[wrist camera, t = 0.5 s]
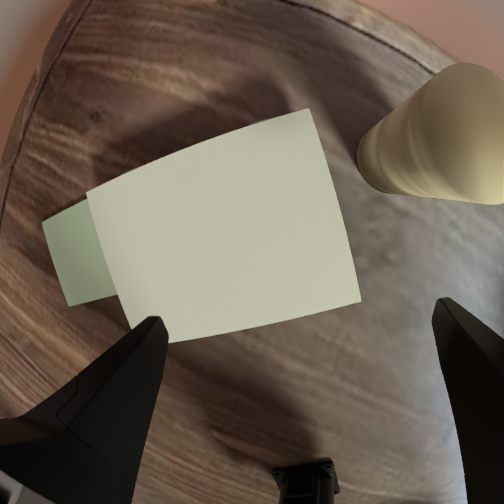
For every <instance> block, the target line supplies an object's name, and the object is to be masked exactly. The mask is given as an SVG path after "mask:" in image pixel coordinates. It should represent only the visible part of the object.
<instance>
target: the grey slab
mask: <svg viewBox="0 0 504 504" xmlns="http://www.w3.org/2000/svg"><path fill="white" fill-rule="evenodd" d="M86 195H87V199H88V203H89V207H90V211H91V214H92V218H93V221H94V225H95V228H96V231H97V235H98V238H99V241H100V244H101V248H102V251H103V254H104V257H105V260H106V263H107V266H108V269H109V272H110V275H111V277H112V280H113V283H114V286H115V288H116V291H117V294H118V296H119V299H120V302H121V304H122V307H123V309H124V312H125V314H126V317H127V319H128V322H129V324H130V327H131V329H133V328H134V327H135V326H137V325H138V324H139V323H140V322H142V321H143V320H144V319H145V318H146V317H148V316H160V317H161V318H162V320H163V322H164V324H165V326H166V329H167V331H168V334H169V341H168V343H173V342H179V341H185V340H191V339H196V338H202V337H207V336H213V335H218V334H223V333H228V332H233V331H238V330H243V329H248V328H253V327H258V326H262V325H267V324H272V323H276V322H281V321H285V320H289V319H294V318H298V317H302V316H306V315H310V314H314V313H318V312H322V311H326V310H330V309H334V308H338V307H342V306H346V305H349V304H353V303H357V302H360V301H361V296H360V292H359V287H358V282H357V277H356V273H355V268H354V264H353V259H352V255H351V251H350V246H349V242H348V238H347V234H346V230H345V226H344V222H343V218H342V215H341V211H340V207H339V203H338V200H337V196H336V192H335V189H334V185H333V182H332V179H331V175H330V172H329V168H328V165H327V162H326V159H325V155H324V152H323V149H322V146H321V143H320V140H319V136H318V133H317V130H316V127H315V124H314V121H313V119H312V116H311V113H310V110H309V108H308V109H304V110H301V111H297V112H293V113H290V114H286V115H283V116H279V117H275V118H267V119H263V120H260V121H257V122H255V123H252V124H250V125H249V126H247V127H243V128H240V129H237V130H234V131H231V132H229V133H226V134H223V135H220V136H217V137H214V138H211V139H209V140H206V141H203V142H201V143H198V144H195V145H193V146H190V147H187V148H185V149H182V150H180V151H177V152H175V153H172V154H170V155H167V156H165V157H162V158H160V159H158V160H155V161H153V162H150V163H148V164H146V165H143V166H141V167H137V168H134V169H131V170H129V171H126V172H124V173H123V174H121V176H119V177H117V178H115V179H113V180H110V181H108V182H106V183H104V184H102V185H100V186H98V187H96V188H94V189H92V190H90V191H88V192H86Z"/></svg>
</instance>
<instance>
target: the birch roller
mask: <svg viewBox="0 0 504 504" xmlns="http://www.w3.org/2000/svg"><path fill="white" fill-rule="evenodd" d="M356 159H357V165H358V169H359V171H360V173H361V175H362V177H363V178H364V180H365V181H366V182H367V183H368V184H369V185H370V186H371V187H373V188H374V189H376V190H378V191H380V192H384V193H390V194H401V195H412V196H422V197H432V198H441V199H450V200H458V201H466V202H474V203H481V204H488V205H497V204H502V203H504V80H503V79H501V78H500V77H499V76H498V75H496V74H495V73H493V72H492V71H490V70H488V69H486V68H484V67H482V66H479V65H476V64H471V63H458V64H454V65H451V66H448V67H447V68H445V69H443V70H442V71H441V72H439V73H438V74H437V75H436V76H434V77H433V78H432V79H431V80H430V81H428V82H427V83H426V84H425V85H423V86H422V87H421V88H420V89H418V90H417V91H416V92H415V93H414V94H412V95H411V96H410V97H409V98H407V99H406V100H405V101H404V102H403V103H401V104H400V105H399V106H398V107H397V108H395V109H394V110H393V111H392V112H390V113H389V114H388V115H387V116H386V117H384V118H383V119H382V120H381V121H380V122H378V123H377V124H376V125H375V126H374V127H372V128H371V129H370V130H369V131H368V132H366V133H365V134H364V136H363V137H362V138H361V140H360V142H359V144H358V147H357V153H356Z"/></svg>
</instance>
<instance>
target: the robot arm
mask: <svg viewBox="0 0 504 504" xmlns="http://www.w3.org/2000/svg"><path fill="white" fill-rule="evenodd" d="M432 327H433V331H434V336H435V341H436V346H437V351H438V357H439V362H440V366H441V370H442V373H443V377H444V380H445V384H446V388H447V392H448V395H449V399H450V403H451V407H452V412H453V416H454V420H455V425H456V430H457V435H458V440H459V445H460V450H461V456H462V462H463V469H464V474H465V475H464V477H465V484H466V492H467V502H468V504H504V339H503V338H502V337H500V336H499V335H498V334H497V333H495V332H494V331H493V330H492V329H490V328H489V327H488V326H487V325H485V324H484V323H483V322H481V321H480V320H479V319H478V318H476V317H475V316H474V315H472V314H471V313H470V312H468V311H467V310H466V309H464V308H463V307H462V306H460V305H459V304H458V303H456V302H455V301H454V300H452V299H451V298H449V297H445V298H439V299H438V300H437V301H436V305H435V308H434V312H433V315H432ZM168 341H169V334H168V331H167V329H166V326H165V324H164V322H163V320H162V318H161V317H160V316H148V317H146V318H145V319H144V320H143V321H142V322H140V323H139V324H138V325H137V326H135V327H134V328H133V329H132V330H131V331H129V332H128V333H127V334H126V335H124V336H123V337H122V338H121V339H120V340H118V341H117V342H116V343H115V344H114V345H112V346H111V347H110V348H109V349H108V350H106V351H105V352H104V353H103V354H101V355H100V356H99V357H98V358H97V359H95V360H94V361H93V362H92V363H91V364H89V365H88V366H87V367H86V368H85V369H83V370H82V371H81V372H80V373H79V374H78V375H76V376H75V377H74V378H73V379H71V380H70V381H69V382H68V383H67V384H65V385H64V386H63V387H62V388H60V389H59V390H58V391H56V392H55V393H54V394H52V395H51V396H50V397H48V398H47V399H45V400H44V401H42V402H41V403H40V404H38V405H37V406H35V407H34V408H33V409H31V410H30V411H28V412H27V413H25V414H24V415H21V416H19V417H16V418H8V419H0V504H131V502H132V498H133V493H134V489H135V484H136V483H135V482H136V479H137V475H138V471H139V466H140V462H141V458H142V454H143V450H144V446H145V442H146V438H147V434H148V430H149V426H150V422H151V418H152V414H153V411H154V407H155V403H156V399H157V396H158V392H159V388H160V385H161V381H162V377H163V371H164V365H165V359H166V353H167V347H168ZM272 475H273V477H274V479H275V481H276V483H277V485H278V487H279V489H280V498H279V504H334V495H335V494H338V493H339V492H340V489H339V485H338V480H337V476H336V472H335V468H334V464H333V462H330V461H329V462H323V463H316V464H310V465H303V466H296V467H287V468H278V469H274V470H273V472H272Z"/></svg>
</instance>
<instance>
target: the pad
mask: <svg viewBox="0 0 504 504" xmlns="http://www.w3.org/2000/svg"><path fill="white" fill-rule="evenodd" d="M42 226H43V230H44V233H45V237H46V240H47V244H48V247H49V251H50V254H51V257H52V260H53V263H54V266H55V270H56V273H57V275H58V278H59V281H60V284H61V287H62V290H63V292H64V295H65V298H66V300H67V303H68V306H69V307H70V306H74V305H78V304H82V303H86V302H90V301H94V300H98V299H101V298H105V297H109V296H113V295H117V291H116V288H115V286H114V283H113V280H112V277H111V275H110V272H109V269H108V266H107V263H106V260H105V257H104V254H103V251H102V248H101V244H100V241H99V238H98V235H97V231H96V228H95V225H94V221H93V218H92V214H91V211H90V207H89V203H88V199H85V200H83V201H81V202H79V203H77V204H76V205H74V206H72V207H70V208H68V209H66V210H64V211H62V212H60V213H58V214H56V215H54V216H53V217H51V218H49V219H47V220H45V221H43V222H42Z"/></svg>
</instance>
